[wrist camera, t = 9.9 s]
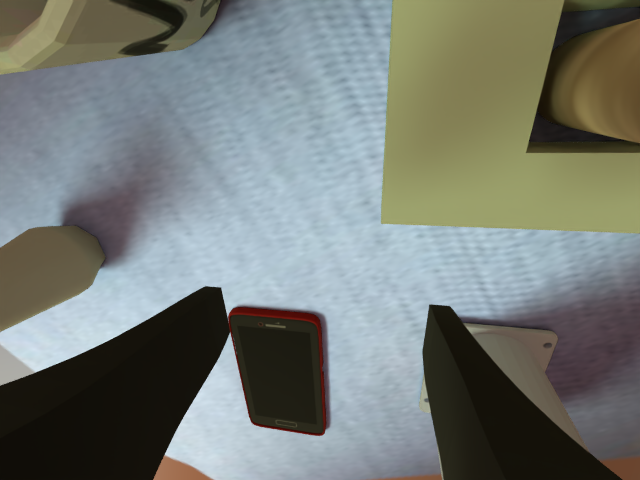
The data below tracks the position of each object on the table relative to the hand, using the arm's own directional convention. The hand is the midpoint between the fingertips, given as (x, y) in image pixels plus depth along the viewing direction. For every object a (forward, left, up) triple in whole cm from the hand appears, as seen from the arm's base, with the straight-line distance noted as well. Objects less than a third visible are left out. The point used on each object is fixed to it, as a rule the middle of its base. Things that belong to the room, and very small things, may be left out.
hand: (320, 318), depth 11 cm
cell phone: (-16, +6, -11) cm, 20 cm away
